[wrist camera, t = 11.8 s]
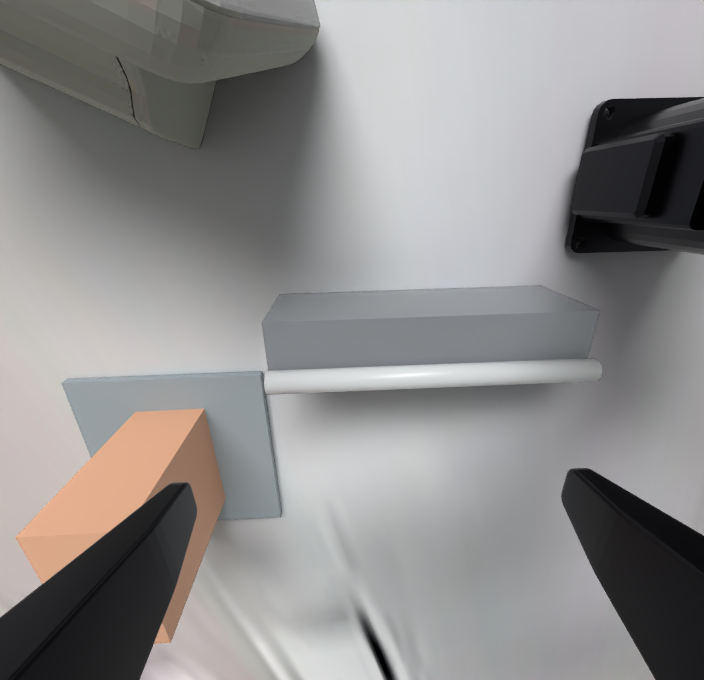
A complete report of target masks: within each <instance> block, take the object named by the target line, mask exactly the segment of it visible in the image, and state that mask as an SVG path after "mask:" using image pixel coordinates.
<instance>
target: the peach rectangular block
mask: <svg viewBox="0 0 704 680" xmlns="http://www.w3.org/2000/svg"><path fill="white" fill-rule="evenodd" d="M174 482H188V483H189V484H190V485H191V487H192V491H193V494H194V498H195V501H196V505H197V517H196V521H195V524H194V527H193V531H192V534H191V538H190V541H189V545H188V548H187V551H186V555H185V558H184V562H183V565H182V569H181V572H180V575H179V579H178V582H177V585H176V588H175V591H174V593H173V596H172V599H171V601H170V604H169V606H168V609H167V611H166V614H165V617H164V619H163V622H162V624H161V627H160V629H159V632H158V634H157V637H156V639H155V642H154V644H158V643H171V640H172V638H173V635H174V633H175V630H176V627H177V625H178V622H179V619H180V617H181V614H182V611H183V609H184V606H185V604H186V601H187V598H188V596H189V593H190V590H191V588H192V585H193V582H194V580H195V577H196V575H197V572H198V569H199V567H200V564H201V561H202V559H203V556H204V553H205V551H206V548H207V546H208V543H209V540H210V538H211V535H212V532H213V530H214V527H215V524H216V522H217V519H218V517H219V514H220V511H221V509H222V506H223V503H224V501H225V494H224V490H223V486H222V481H221V477H220V473H219V468H218V464H217V460H216V456H215V451H214V447H213V443H212V439H211V434H210V430H209V426H208V422H207V417H206V413H205V409H187V410H166V411H146V412H135V413H134V414H133V415H132V416H131V417H130V418H129V419H128V420H127V421H126V422H125V423H124V424H123V425H122V426H121V427H120V428H119V430H118V431H117V432H116V433H115V434H114V435H113V436H112V437H111V438H110V439H109V440H108V441H107V442H106V443H105V444H104V445H103V446H102V447H101V448H100V449H99V450H98V452H97V453H96V454H95V455H94V456H93V457H92V458H91V459H90V460H89V461H88V462H87V463H86V464H85V465H84V466H83V467H82V468H81V469H80V470H79V471H78V472H77V473H76V475H75V476H74V477H73V478H72V479H71V480H70V481H69V482H68V483H67V484H66V485H65V486H64V487H63V488H62V489H61V490H60V491H59V492H58V493H57V494H56V495H55V496H54V498H53V499H52V500H51V501H50V502H49V503H48V504H47V505H46V506H45V507H44V508H43V509H42V510H41V511H40V512H39V513H38V514H37V515H36V516H35V517H34V518H33V519H32V521H31V522H30V523H29V524H28V525H27V526H26V527H25V528H24V529H23V530H22V531H21V532H20V533H19V534H18V535H17V536H16V537H15V538H16V539H17V541H18V543H19V545H20V546H21V548H22V550H23V552H24V553H25V555H26V557H27V558H28V560H29V562H30V564H31V565H32V567H33V569H34V570H35V572H36V574H37V576H38V577H39V579H40V581H41V582H42V584H43V583H44V582H46V581H47V580H48V579H50V578H51V577H52V576H53V575H55V574H56V573H57V572H58V571H60V570H61V569H62V568H63V567H65V566H66V565H67V564H69V563H70V562H71V561H72V560H74V559H75V558H76V557H77V556H79V555H80V554H81V553H82V552H84V551H85V550H86V549H87V548H89V547H90V546H91V545H93V544H94V543H95V542H96V541H98V540H99V539H100V538H101V537H103V536H104V535H105V534H106V533H108V532H109V531H110V530H111V529H113V528H114V527H115V526H117V525H118V524H119V523H120V522H122V521H123V520H124V519H125V518H127V517H128V516H129V515H130V514H132V513H133V512H134V511H135V510H137V509H138V508H139V507H141V506H142V505H143V504H144V503H146V502H147V501H148V500H149V499H151V498H152V497H153V496H154V495H156V494H157V493H158V492H160V491H161V490H162V489H163V488H165V487H166V486H167V485H169V484H170V483H174Z"/></svg>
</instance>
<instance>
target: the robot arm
mask: <svg viewBox="0 0 704 680" xmlns="http://www.w3.org/2000/svg"><path fill="white" fill-rule="evenodd" d="M605 109H608V111H609V115H608V117H607V119H605V118H604V111H605ZM571 210H572V215H571V220H570V224H569V229H568V234H567V239H566V248H567V250H569V251H571V252H575V253H597V252H629V251H660V250H676V251H683V252H689V253H696V254H703V255H704V97H684V98H637V99H611V100H607V101H604V102H602V103H600V104H599V105H597V106H596V108H595V109H594V111H593V114H592V117H591V122H590V127H589V132H588V137H587V142H586V147H585V151H584V153H583V154H582V157H581V162H580V167H579V172H578V177H577V182H576V187H575V192H574V197H573V202H572V206H571ZM579 238H580V240H581V242H580V244H579V245H578V246H577V247H576V241H577V240H578V239H579ZM561 498H562V503H563V506H564V508H565V510H566V512H567V514H568V516H569V519H570V521H571V523H572V525H573V527H574V530H575V532H576V534H577V536H578V538H579V540H580V543H581V545H582V547H583V549H584V551H585V553H586V556H587V558H588V560H589V562H590V564H591V566H592V568H593V570H594V572H595V574H596V576H597V578H598V580H599V581H600V583H601V585H602V587H603V589H604V590H605V592H606V594H607V596H608V597H609V599H610V601H611V603H612V604H613V606H614V608H615V610H616V611H617V613H618V615H619V617H620V618H621V620H622V622H623V624H624V625H625V627H626V629H627V631H628V632H629V634H630V636H631V638H632V639H633V641H634V643H635V645H636V646H637V648H638V650H639V652H640V653H641V655H642V657H643V659H644V660H645V662H646V664H647V666H648V667H649V669H650V671H651V673H652V674H653V676H654V678H655V680H704V536H703V535H702V534H700V533H698V532H696V531H695V530H693V529H691V528H690V527H688V526H686V525H685V524H683V523H681V522H679V521H678V520H676V519H674V518H673V517H671V516H669V515H667V514H666V513H664V512H662V511H661V510H659V509H657V508H656V507H654V506H652V505H650V504H649V503H647V502H645V501H644V500H642V499H640V498H639V497H637V496H635V495H633V494H632V493H630V492H628V491H627V490H625V489H623V488H621V487H620V486H618V485H616V484H615V483H613V482H611V481H610V480H608V479H606V478H604V477H603V476H601V475H599V474H598V473H596V472H594V471H592V470H591V469H588V468H575V469H570V470H569V471H568V473H567V476H566V479H565V483H564V486H563V490H562V495H561ZM196 517H197V505H196V501H195V498H194V494H193V491H192V487H191V485H190V484H189V483H188V482H174V483H170V484H169V485H167V486H166V487H165V488H163V489H162V490H161V491H160V492H158V493H157V494H156V495H154V496H153V497H152V498H151V499H149V500H148V501H147V502H146V503H144V504H143V505H142V506H141V507H139V508H138V509H137V510H135V511H134V512H133V513H132V514H130V515H129V516H128V517H127V518H125V519H124V520H123V521H122V522H120V523H119V524H118V525H117V526H115V527H114V528H113V529H111V530H110V531H109V532H108V533H106V534H105V535H104V536H103V537H101V538H100V539H99V540H98V541H96V542H95V543H94V544H93V545H91V546H90V547H89V548H87V549H86V550H85V551H84V552H82V553H81V554H80V555H79V556H77V557H76V558H75V559H74V560H72V561H71V562H70V563H69V564H67V565H66V566H65V567H63V568H62V569H61V570H60V571H58V572H57V573H56V574H55V575H53V576H52V577H51V578H50V579H48V580H47V581H46V582H44V583H43V584H42V585H41V586H39V587H38V588H37V589H36V590H34V591H33V592H32V593H31V594H29V595H28V596H27V597H26V598H24V599H23V600H22V601H20V602H19V603H18V604H17V605H15V606H14V607H13V608H12V609H10V610H9V611H8V612H7V613H5V614H4V615H3V616H2V617H0V680H140V677H141V675H142V672H143V670H144V667H145V664H146V662H147V659H148V657H149V654H150V652H151V649H152V647H153V644H154V642H155V639H156V637H157V634H158V632H159V629H160V627H161V624H162V622H163V619H164V617H165V614H166V611H167V609H168V606H169V604H170V601H171V599H172V596H173V593H174V591H175V588H176V585H177V582H178V579H179V575H180V572H181V569H182V565H183V562H184V558H185V555H186V551H187V548H188V545H189V541H190V538H191V534H192V531H193V527H194V524H195V521H196Z"/></svg>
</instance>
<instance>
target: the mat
mask: <svg viewBox="0 0 704 680" xmlns="http://www.w3.org/2000/svg"><path fill="white" fill-rule="evenodd" d="M62 386H63V388H64V391H65V393H66V396H67V398H68V401H69V403H70V406H71V408H72V411H73V414H74V416H75V419H76V421H77V424H78V426H79V429H80V431H81V434H82V436H83V439H84V441H85V444H86V446H87V449H88V451H89V454H90V456H91V458H92V457H93V456H94V455H95V454H96V453H97V452H98V450H99V449H100V448H101V447H102V446H103V445H104V444H105V443H106V442H107V441H108V440H109V439H110V438H111V437H112V436H113V435H114V434H115V433H116V432H117V431H118V430H119V428H120V427H121V426H122V425H123V424H124V423H125V422H126V421H127V420H128V419H129V418H130V417H131V416H132V415H133V414H134V413H135V412H146V411H166V410H187V409H205V413H206V417H207V422H208V426H209V430H210V434H211V439H212V443H213V447H214V451H215V456H216V460H217V464H218V468H219V473H220V477H221V481H222V486H223V490H224V494H225V501H224V503H223V506H222V509H221V511H220V514H219V517H218V519H217V520H231V519H251V518H272V517H281V512H282V510H281V503H280V496H279V489H278V482H277V475H276V468H275V461H274V453H273V446H272V439H271V432H270V425H269V418H268V411H267V404H266V397H265V390H264V383H263V376H262V371H253V372H228V373H202V374H177V375H151V376H125V377H100V378H74V379H67V380H65V381H64V382H62Z"/></svg>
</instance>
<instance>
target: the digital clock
mask: <svg viewBox="0 0 704 680" xmlns="http://www.w3.org/2000/svg"><path fill="white" fill-rule="evenodd" d="M319 27H320V22H319V18H318V14H317V10H316V5H315V2H314V0H0V64H1V65H3V66H6V67H8V68H10V69H12V70H14V71H17V72H19V73H21V74H23V75H25V76H28V77H30V78H32V79H34V80H37V81H39V82H41V83H43V84H45V85H48V86H50V87H52V88H54V89H56V90H59V91H61V92H63V93H65V94H67V95H70V96H72V97H74V98H76V99H78V100H81V101H83V102H85V103H87V104H90V105H92V106H94V107H96V108H98V109H101V110H103V111H105V112H107V113H109V114H112V115H114V116H116V117H118V118H120V119H123V120H125V121H127V122H129V123H132V124H134V125H136V126H138V127H140V128H143V129H145V130H147V131H149V132H151V133H153V134H155V135H157V136H160V137H162V138H165V139H167V140H170V141H173V142H176V143H179V144H182V145H185V146H188V147H191V148H194V149H199V147H200V145H201V143H202V140H203V136H204V131H205V127H206V123H207V119H208V115H209V110H210V106H211V102H212V98H213V93H214V89H215V85H216V81H217V80H220V79H225V78H230V77H235V76H240V75H245V74H249V73H254V72H259V71H264V70H268V69H273V68H278V67H282V66H287V65H290V64H293V63H294V62H296V61H297V60H299V59H300V58H302V57H303V56H304V55H305V54H306V53H307V52H308V51H309V50H310V49H311V47H312V45H313V43H314V42H315V40H316V37H317V35H318V32H319Z"/></svg>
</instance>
